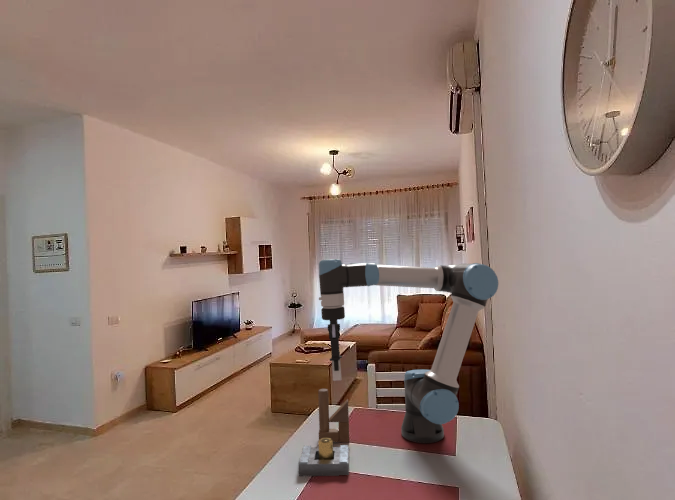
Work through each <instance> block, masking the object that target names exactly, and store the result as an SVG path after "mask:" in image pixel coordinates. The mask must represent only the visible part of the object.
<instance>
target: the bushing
mask: <svg viewBox="0 0 675 500" xmlns="http://www.w3.org/2000/svg"><path fill="white" fill-rule="evenodd" d="M317 444H318V447H319V460H333V447H334V446H333V445H334V442H333V441H332V439H331V438H322V439H320V440H319V439H318V443H317Z"/></svg>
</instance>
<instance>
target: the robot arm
mask: <svg viewBox="0 0 675 500" xmlns="http://www.w3.org/2000/svg"><path fill="white" fill-rule="evenodd" d="M318 279H319V282H318V283H319V291H320V293H319V294H320V297H318V300H319V301H320V306H321V313H320V314H321V319H322V320H323V321H329V324H327V331H328V339H329V340H330V353H331V358H329V361H330V362H331V368H332V370H331V371H332V381H333V382H334V381H335V382H337V381H342V368H341V365H342V364H341V359H342V358H343V356H342V355H340V341H339V340H340V339H341V338H340V337H341V334H340V333H341V323H338V320H344V319H345V318H346V315H345V313H346V312H345V307H344V305H345V295H344V293H345V292H344V288H353V287H355V288H357V287H371V286H379V287H380V286H381V287H400V288H401V287H402V288H403V287H404V288H418V289H419V288H420V289H421V288H422V289H434V290H435V291H436V292H444V293H450V298H451V300H452V302H453V303H452V306H451V308H450V312H449V315H448V317H447V321H446V323H445V327H444V330H443V332H442V335H441V336H442V337H441V339H440V342H439V344H438V347H437V351H436V354H435V355H434V356H435V357H434V360H433V363H432V365H431V368H430V369H412V370H407V371H405V373H404V377H403V378H404V379H403V382H404V400H405V401H404V402H405V404H404V405H405V413H404V417H403V419H402V423H401V428H400V429H401V431H400V432H401V433H400V434H401V436H402V437H403V438H404V439H406V440H408V441H410V442H413V443H418V444H433V443H437V442H439V441H441V440H443V438H444V437H445V431H444V430H445V429H444V426H443V425H445V424H448V423H450V422H451V421H452V420H454V418H456V416H457V414H458V412H459V408H460V407H459V406H460V405H459V404H460V403H459V400H458V397H457V395H458V392H459V388H460V385H459V383H458V381H457V379H458V376H459V372H460V371H461V367H462V362H463V359H464V357H465V354H466V351H467V348H468V345H469V342H470V340H471V336H472V332H473V329H474V327H475V323H476V320H477V318H478V314H479V312H480V311H481V310H483V309H484V310H485V308H486V306H487V302H488V299H489V300H490V299H491V298H492V297H494V296H495V295H496V293H497V292H498V289H499V279H498V276H497V274H496V272H495V270H493V268H491V267H490V266H488V265H487V264H484V263H478V262H474V263H457V264H450V265H449V264H448V265H446V264H445V265H439V264H438V265H437V264H436V266H435V267H428V266H427V267H426V266H407V265H388V264H377V263H376V262H363V263H361V262H360V263H353V262H351V263H348V264H343V263H342V260H341V258H334V259H331V258H330V259H321V260H320V261H319V263H318Z"/></svg>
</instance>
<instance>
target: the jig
mask: <svg viewBox="0 0 675 500" xmlns="http://www.w3.org/2000/svg"><path fill="white" fill-rule="evenodd" d="M339 475H350V447H349V445H348V444H342V445H341V444H340V446H333V460H319V446H318V447H316V446H315V447H312V445H303V447H302V449H301V454H300V457H299V461H298V477H337V476H338V477H340V476H339Z"/></svg>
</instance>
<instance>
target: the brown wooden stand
mask: <svg viewBox="0 0 675 500" xmlns="http://www.w3.org/2000/svg"><path fill="white" fill-rule="evenodd" d="M317 392H318V421H319V423H318V426H319V428H318V441H319V440H320V439H322V438H331V439H332V441H333V443H350V420H349V399H348V398H347V399H346V400H345V401H344V402H343V403H342V404H341V405H340V406H339V407H338V408H337V409H336V410H335V412H333V414H331V416H330V406H329V405H330V403H329V389H328V388H320V389H318V390H317ZM330 423H338V429H336V428H330Z"/></svg>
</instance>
